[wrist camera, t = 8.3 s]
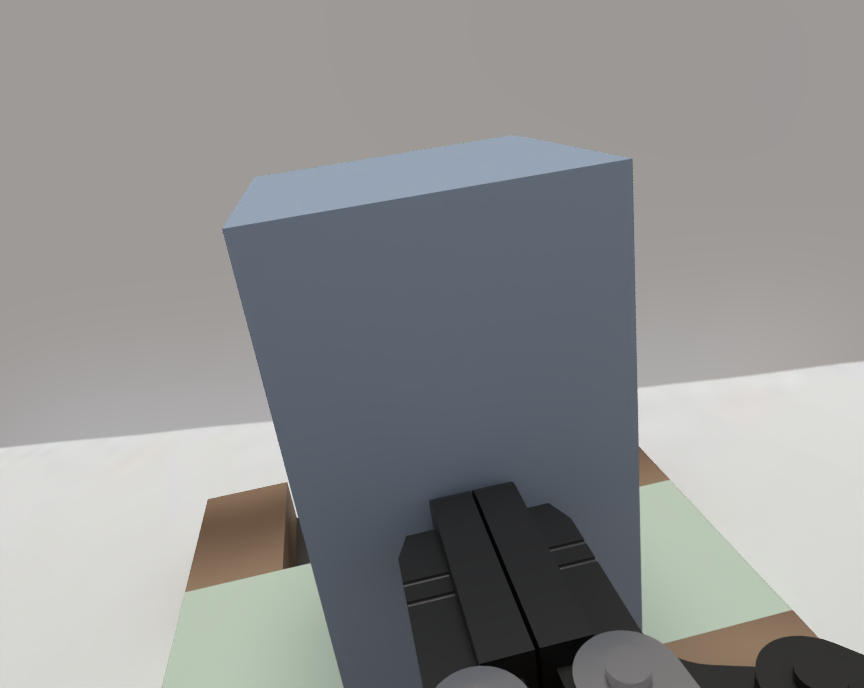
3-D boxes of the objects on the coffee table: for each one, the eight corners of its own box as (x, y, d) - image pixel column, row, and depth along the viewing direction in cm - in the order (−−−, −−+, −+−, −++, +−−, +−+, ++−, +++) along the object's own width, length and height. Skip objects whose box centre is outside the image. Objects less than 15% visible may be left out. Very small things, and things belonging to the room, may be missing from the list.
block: (644, 722, 14) (632, 158, 10) (372, 797, 13) (222, 228, 9) (550, 546, 20) (514, 134, 15) (353, 593, 19) (254, 177, 14)
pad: (786, 667, 17) (792, 609, 16) (164, 837, 15) (138, 781, 15) (669, 528, 23) (669, 479, 22) (202, 640, 21) (185, 592, 20)
